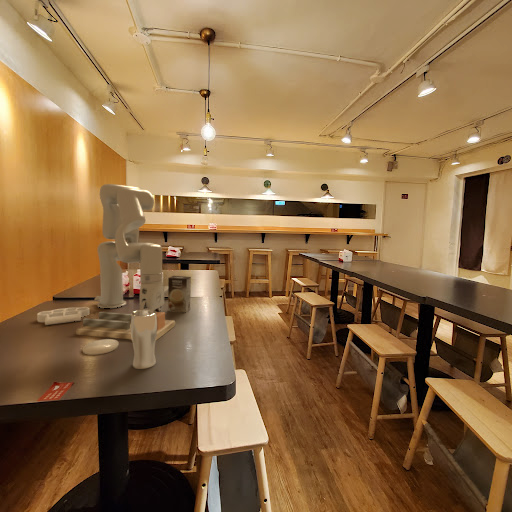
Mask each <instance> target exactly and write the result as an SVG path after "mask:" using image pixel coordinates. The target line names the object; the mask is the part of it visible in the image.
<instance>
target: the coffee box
mask: <svg viewBox="0 0 512 512" xmlns="http://www.w3.org/2000/svg"><path fill="white" fill-rule="evenodd" d="M191 277H192V276H184V275H171V276H170V277H168V279H167V281H168V285H167V286H168V292H167V312H171V311H173V312H174V313H185V312H186V313H188V311H190V310H191V290H192V289H191V287H192V286H191V283H192V282H191V280H192V279H191ZM189 309H190V310H189Z"/></svg>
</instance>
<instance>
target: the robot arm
mask: <svg viewBox="0 0 512 512" xmlns="http://www.w3.org/2000/svg"><path fill="white" fill-rule="evenodd" d="M99 199H100V203H101V205H102V206H101V207H102V228H101V229H102V230H101V231H102V232H101V233H102V235H103V237H104V238H105V239H106V240H107V239H108V240H109V241H103V242H101V243H99V244H98V246H97V255H98V260H99V272H100V273H99V274H100V276H99V277H100V295H96V296H95V298H94V301H97V302H98V303H97V308H99V307H100V308H99V309H104V308H110V309H117V307H118V308H122V307H125V306H126V305H127V301H126V300H124V295H123V294H124V292H123V290H124V289H123V285H124V283H123V269H122V267H121V265H120V264H119V263H118V262H119V261H121V262H122V263H125V264H133V263H134V264H135V263H140V264H139V265H140V266H139V269H140V274H139V275H140V276H139V277H140V281H139V282H140V289H139V309H138V310H145V309H150V310H155V311H156V312H162V309H161V308H162V306H163V305H165V295H164V288H163V287H164V283H163V247H162V245H160V244H158V243H157V244H155V243H153V242H139V238H140V229H139V228H142V226H144V225H145V223H146V216H145V213H144V211H151V210H152V209H153V208H154V207H155V206H154V205H155V199H154V195H153V194H152V193H151V192H150V191H149V190H146V189H144V188H141V187H137V186H129V185H122V184H114V183H105V184H102V185H101V186H100V189H99ZM110 240H111V241H110ZM121 306H122V307H121Z"/></svg>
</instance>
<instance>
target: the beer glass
mask: <svg viewBox="0 0 512 512" xmlns="http://www.w3.org/2000/svg"><path fill="white" fill-rule="evenodd" d="M130 314H131V328H130V329H131V338H132V339H131V342H132V347H133V355H134V356H133V359H132V360H133V361H132V367H133V368H134V369H136V370H146V369H150V368H151V367H154V366H155V365H156V363H157V362H156V360H157V359H156V355H155V345H156V341H157V340H156V336H157V315H156V311H155V310H150V309H148V308H146V309H145V310H139V309H138V310H135V311H132V312H131V313H130Z"/></svg>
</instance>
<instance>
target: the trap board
mask: <svg viewBox="0 0 512 512" xmlns="http://www.w3.org/2000/svg"><path fill="white" fill-rule="evenodd" d="M175 326H176V321H175V320H171V319H170V320H169V319H165V326H163V327H162V328H161V329H159V330H157V336H156V341H158V339H160V338H161V337H162V336H164V335H165V334H166V333H168V332H169V331H170V330H171V329H173V328H174V327H175ZM130 328H131V313H119V312H109V311H107V312H105V311H100V312H98V318H97V319H96V318H88V317H87V318H86V317H84V318H82V325H81V326H80V327H77V328H75V335H77V336H78V335H79V336H88V337H89V336H90V337H91V336H92V337H99V338H100V337H101V338H110V339H111V338H112V339H123V340H124V339H125V340H132V338H131V329H130Z"/></svg>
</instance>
